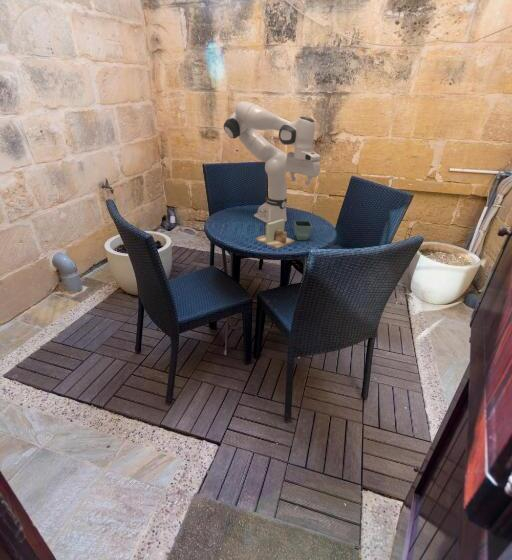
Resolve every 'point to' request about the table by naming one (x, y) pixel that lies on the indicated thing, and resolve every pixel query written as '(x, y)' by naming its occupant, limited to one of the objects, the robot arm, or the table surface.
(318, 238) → the table surface
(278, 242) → the tan piece
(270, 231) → the slot plate
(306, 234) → the flower pot
